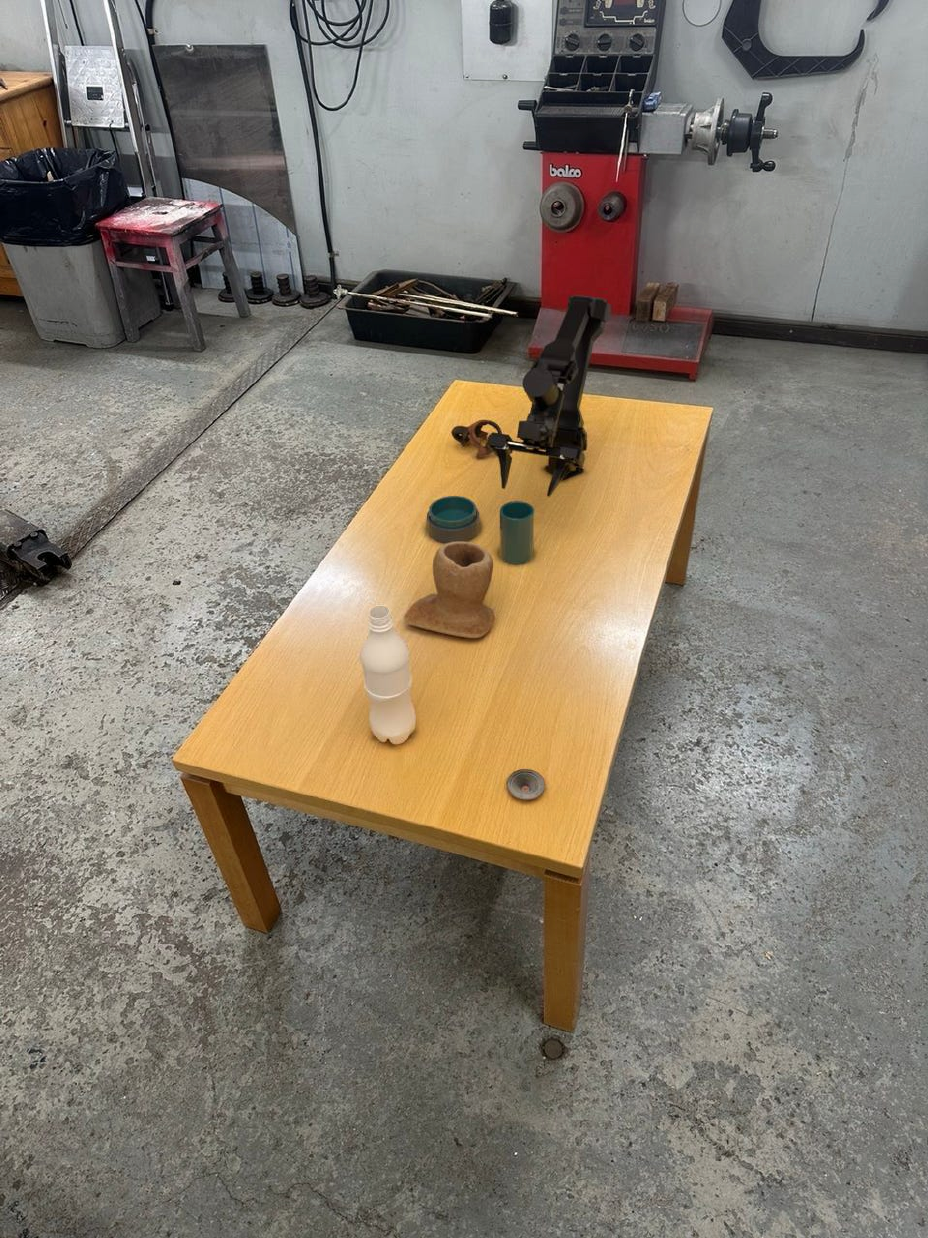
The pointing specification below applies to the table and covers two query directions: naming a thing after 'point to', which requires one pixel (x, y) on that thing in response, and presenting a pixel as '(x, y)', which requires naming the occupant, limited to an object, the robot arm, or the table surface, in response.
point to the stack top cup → (452, 512)
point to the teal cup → (516, 532)
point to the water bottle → (387, 678)
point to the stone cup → (457, 593)
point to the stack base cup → (453, 531)
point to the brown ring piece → (474, 435)
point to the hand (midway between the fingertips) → (525, 492)
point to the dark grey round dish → (525, 784)
